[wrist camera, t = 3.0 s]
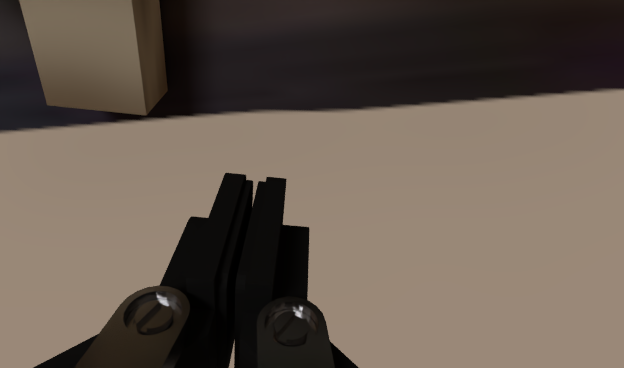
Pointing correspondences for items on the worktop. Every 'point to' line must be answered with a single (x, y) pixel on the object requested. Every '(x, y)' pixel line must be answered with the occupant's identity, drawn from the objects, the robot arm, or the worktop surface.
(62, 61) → the pivot link
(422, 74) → the worktop surface
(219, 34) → the worktop surface
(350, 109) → the worktop surface
